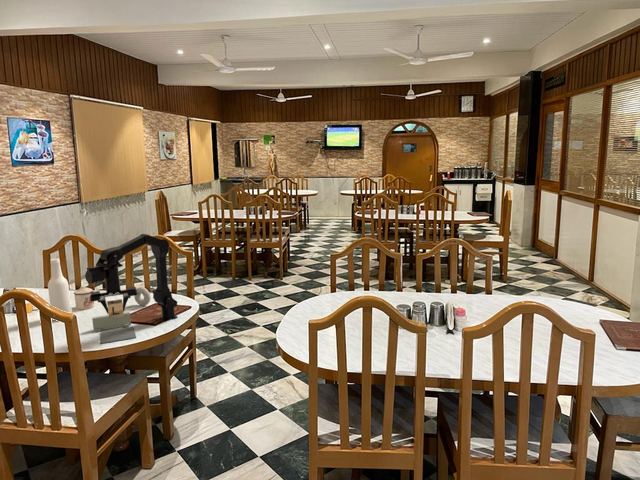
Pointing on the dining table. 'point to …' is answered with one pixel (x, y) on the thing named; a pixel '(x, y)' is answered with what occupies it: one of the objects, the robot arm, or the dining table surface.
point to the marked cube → (115, 308)
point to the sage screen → (110, 322)
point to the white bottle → (58, 288)
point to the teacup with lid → (83, 298)
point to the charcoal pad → (117, 335)
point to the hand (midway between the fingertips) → (115, 312)
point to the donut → (145, 294)
